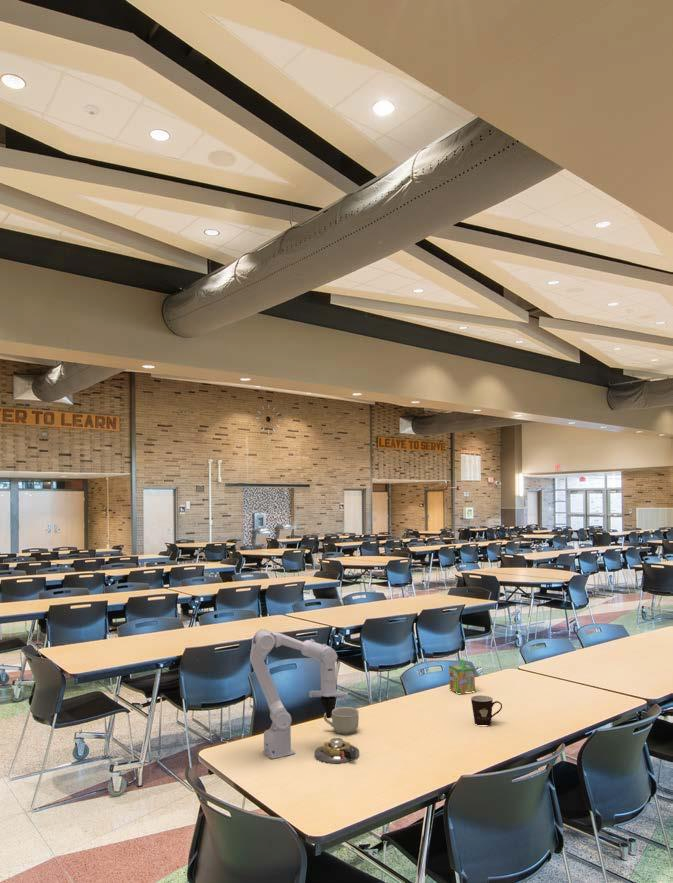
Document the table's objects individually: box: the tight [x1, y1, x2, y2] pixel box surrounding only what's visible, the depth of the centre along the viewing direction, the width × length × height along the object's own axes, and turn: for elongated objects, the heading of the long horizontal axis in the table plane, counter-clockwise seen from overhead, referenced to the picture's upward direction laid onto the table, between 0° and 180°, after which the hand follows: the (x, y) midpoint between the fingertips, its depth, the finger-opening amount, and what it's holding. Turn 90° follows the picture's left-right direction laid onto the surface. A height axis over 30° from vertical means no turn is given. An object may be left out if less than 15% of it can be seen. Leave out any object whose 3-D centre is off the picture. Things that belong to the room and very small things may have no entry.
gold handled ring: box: [322, 740, 356, 759], centre depth 230 cm, size 15×9×3 cm, turn 38°
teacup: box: [323, 706, 360, 735], centre depth 257 cm, size 14×11×8 cm
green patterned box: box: [448, 658, 476, 693], centre depth 309 cm, size 9×9×15 cm
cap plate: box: [314, 737, 360, 765], centre depth 232 cm, size 16×16×5 cm
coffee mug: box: [470, 694, 503, 726], centre depth 262 cm, size 12×9×10 cm
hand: (329, 717), depth 242 cm, fingers closed
